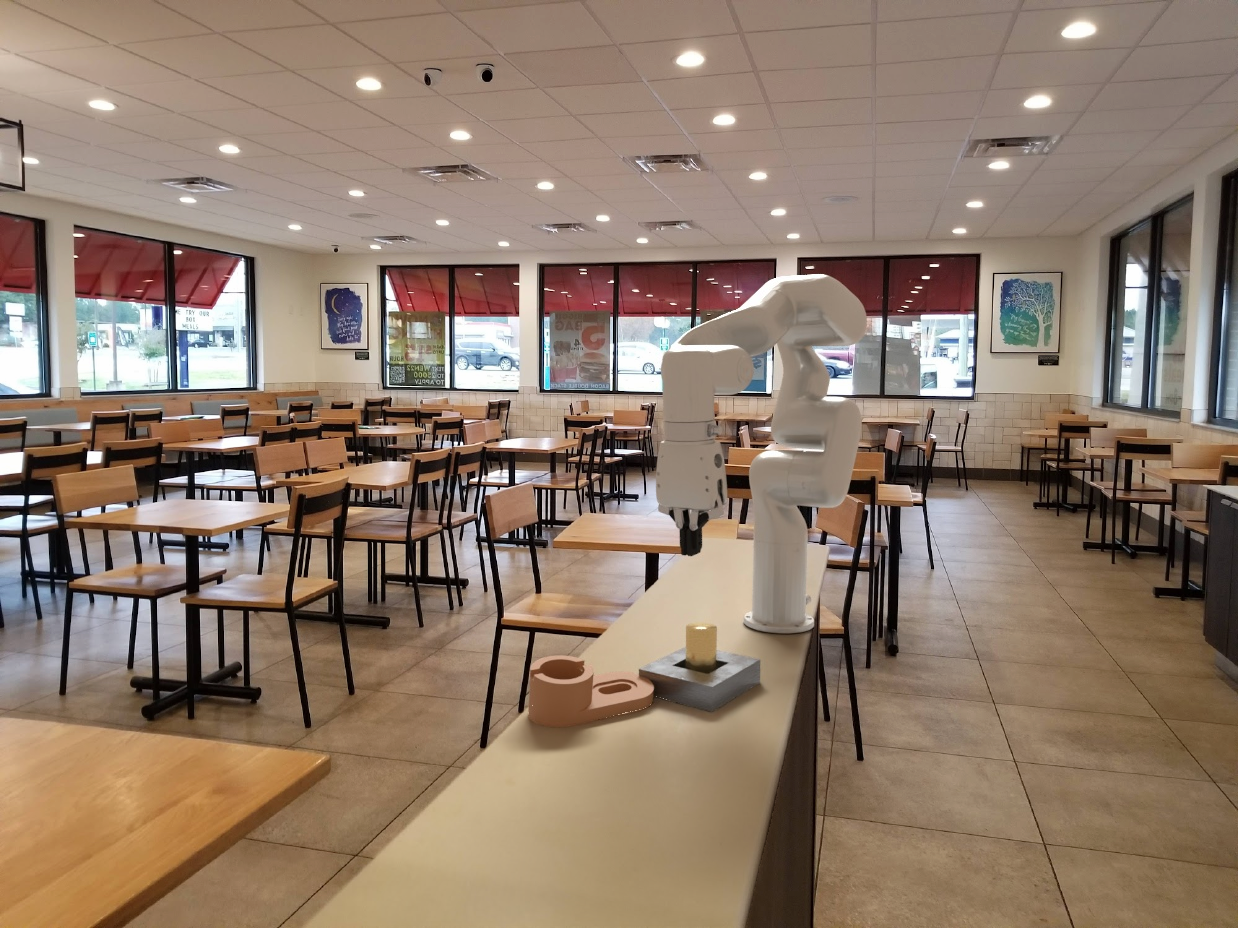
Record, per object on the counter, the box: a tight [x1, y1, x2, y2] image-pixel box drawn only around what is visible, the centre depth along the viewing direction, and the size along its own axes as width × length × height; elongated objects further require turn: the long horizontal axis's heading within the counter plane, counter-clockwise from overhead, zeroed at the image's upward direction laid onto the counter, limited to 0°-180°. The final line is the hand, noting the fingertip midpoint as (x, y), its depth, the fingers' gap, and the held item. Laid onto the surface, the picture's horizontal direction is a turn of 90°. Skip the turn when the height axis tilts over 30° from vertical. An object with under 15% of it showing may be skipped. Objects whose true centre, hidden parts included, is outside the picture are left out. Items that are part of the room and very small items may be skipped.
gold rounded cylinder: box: [685, 622, 718, 674], centre depth 126 cm, size 4×4×9 cm
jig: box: [638, 646, 761, 713], centre depth 126 cm, size 14×12×4 cm
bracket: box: [527, 654, 654, 728], centre depth 118 cm, size 18×8×7 cm, turn 120°
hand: (691, 553), depth 131 cm, fingers closed
